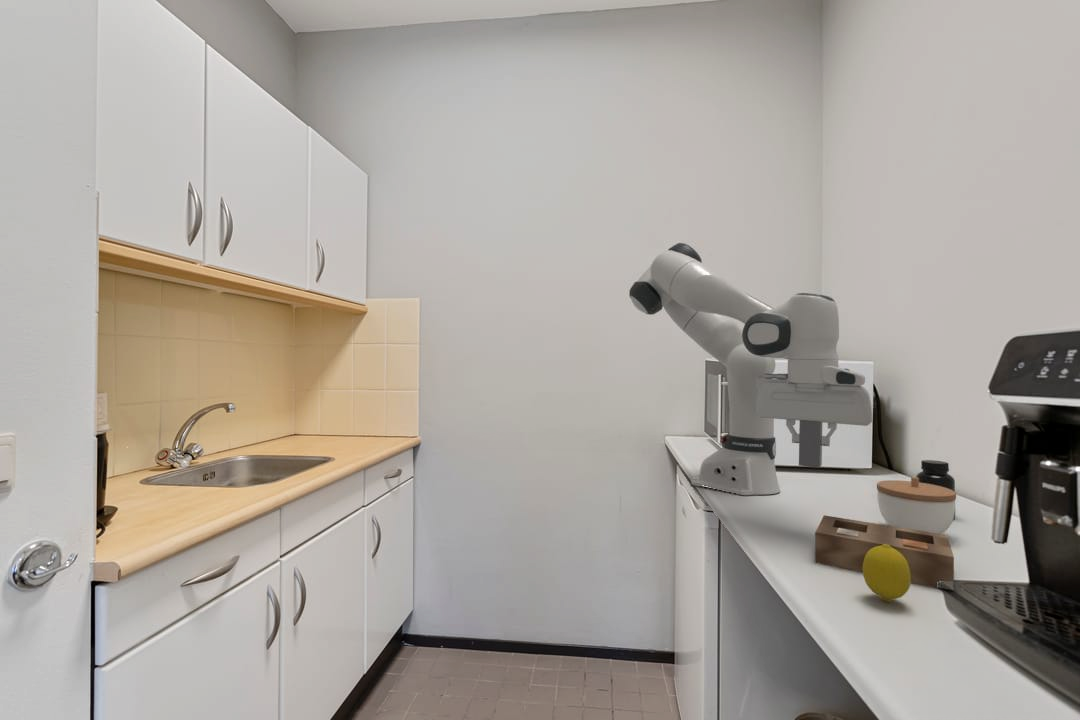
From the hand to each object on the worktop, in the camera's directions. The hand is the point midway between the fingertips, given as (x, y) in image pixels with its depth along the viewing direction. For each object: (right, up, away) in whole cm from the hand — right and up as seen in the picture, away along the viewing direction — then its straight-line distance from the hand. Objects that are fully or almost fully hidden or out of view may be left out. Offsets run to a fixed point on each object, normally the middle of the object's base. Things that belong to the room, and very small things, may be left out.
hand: (810, 444), depth 99 cm
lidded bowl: (+21, -18, 0) cm, 28 cm away
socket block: (+3, -17, -15) cm, 23 cm away
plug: (0, -4, 0) cm, 4 cm away
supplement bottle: (+35, -18, +12) cm, 41 cm away
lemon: (-5, -17, -29) cm, 34 cm away
